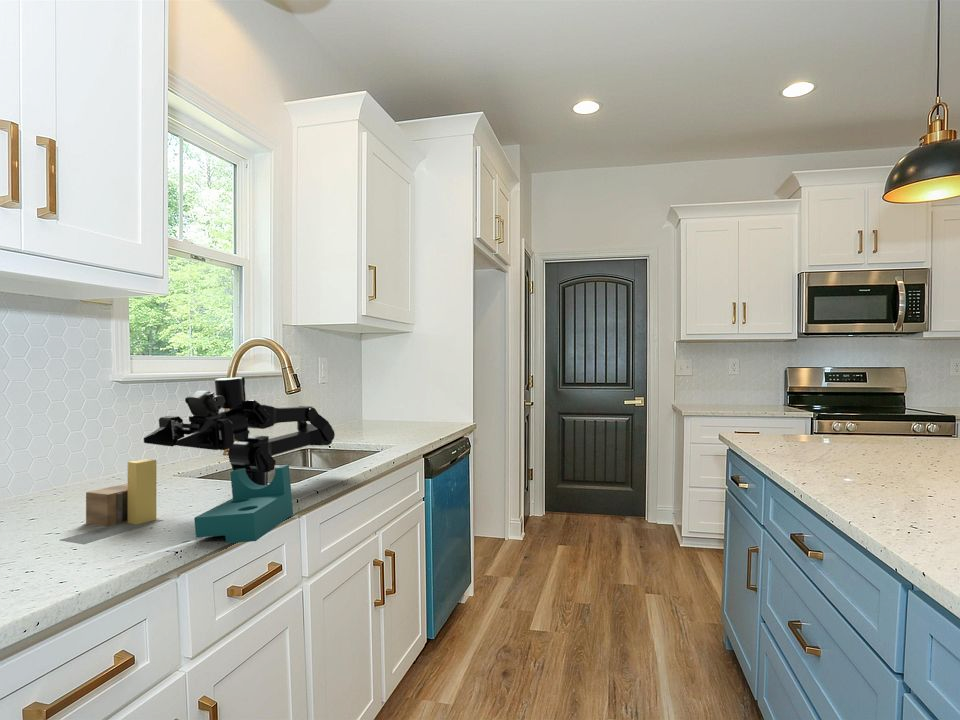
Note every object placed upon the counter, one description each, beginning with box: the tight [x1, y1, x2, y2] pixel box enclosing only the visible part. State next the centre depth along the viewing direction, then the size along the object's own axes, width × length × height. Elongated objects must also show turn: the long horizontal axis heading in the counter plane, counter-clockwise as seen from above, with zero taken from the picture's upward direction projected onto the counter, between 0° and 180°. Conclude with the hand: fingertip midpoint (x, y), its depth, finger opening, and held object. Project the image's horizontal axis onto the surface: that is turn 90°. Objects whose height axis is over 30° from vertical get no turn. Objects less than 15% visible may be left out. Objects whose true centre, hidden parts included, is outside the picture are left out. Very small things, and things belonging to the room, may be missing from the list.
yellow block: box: [127, 458, 157, 525], centre depth 114 cm, size 4×3×12 cm
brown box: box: [85, 482, 128, 527], centre depth 116 cm, size 10×7×6 cm, turn 159°
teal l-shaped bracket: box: [193, 464, 294, 544], centre depth 111 cm, size 18×11×10 cm, turn 177°
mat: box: [60, 518, 164, 545], centre depth 109 cm, size 16×6×1 cm, turn 159°
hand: (160, 441), depth 114 cm, fingers open, 9 cm apart
